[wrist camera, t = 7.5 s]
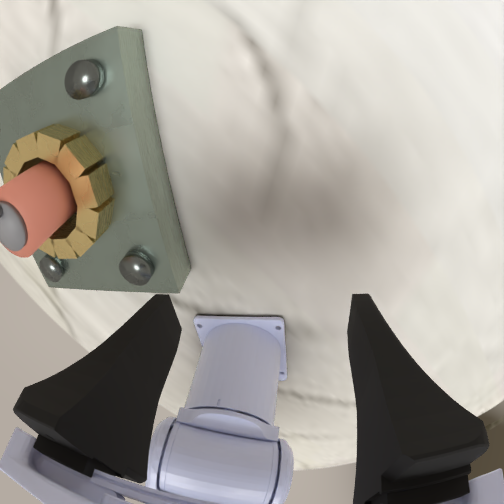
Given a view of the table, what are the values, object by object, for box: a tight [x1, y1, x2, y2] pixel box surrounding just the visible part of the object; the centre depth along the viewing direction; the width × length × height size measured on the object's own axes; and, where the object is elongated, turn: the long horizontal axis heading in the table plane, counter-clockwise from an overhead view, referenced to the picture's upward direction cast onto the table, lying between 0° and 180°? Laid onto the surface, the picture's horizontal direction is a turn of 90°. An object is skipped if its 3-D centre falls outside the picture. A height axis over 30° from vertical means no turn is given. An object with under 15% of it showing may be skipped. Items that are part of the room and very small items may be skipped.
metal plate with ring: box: [0, 26, 191, 293], centre depth 18 cm, size 18×14×5 cm
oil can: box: [0, 160, 77, 257], centre depth 15 cm, size 4×4×8 cm
